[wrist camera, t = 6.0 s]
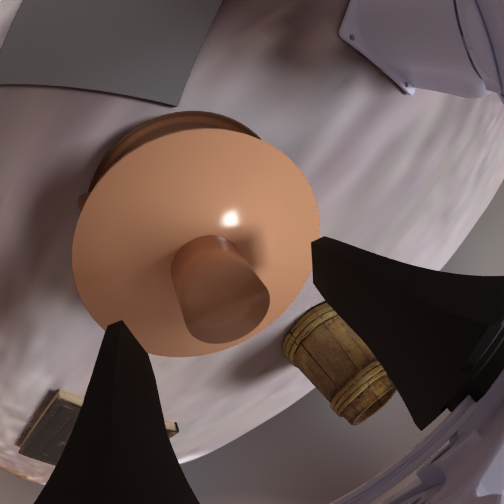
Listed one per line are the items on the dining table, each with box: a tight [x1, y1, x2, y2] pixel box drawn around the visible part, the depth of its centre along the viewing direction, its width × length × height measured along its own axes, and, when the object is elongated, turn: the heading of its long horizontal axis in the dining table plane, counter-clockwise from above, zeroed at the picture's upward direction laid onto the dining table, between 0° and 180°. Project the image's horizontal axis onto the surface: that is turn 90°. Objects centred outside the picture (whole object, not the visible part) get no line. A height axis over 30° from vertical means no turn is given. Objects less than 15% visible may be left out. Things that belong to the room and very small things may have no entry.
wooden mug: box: [282, 302, 397, 425], centre depth 22 cm, size 9×14×18 cm, turn 122°
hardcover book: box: [19, 389, 179, 466], centre depth 24 cm, size 16×23×2 cm
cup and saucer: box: [78, 111, 262, 211], centre depth 14 cm, size 12×12×6 cm
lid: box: [72, 127, 320, 357], centre depth 10 cm, size 11×11×4 cm
